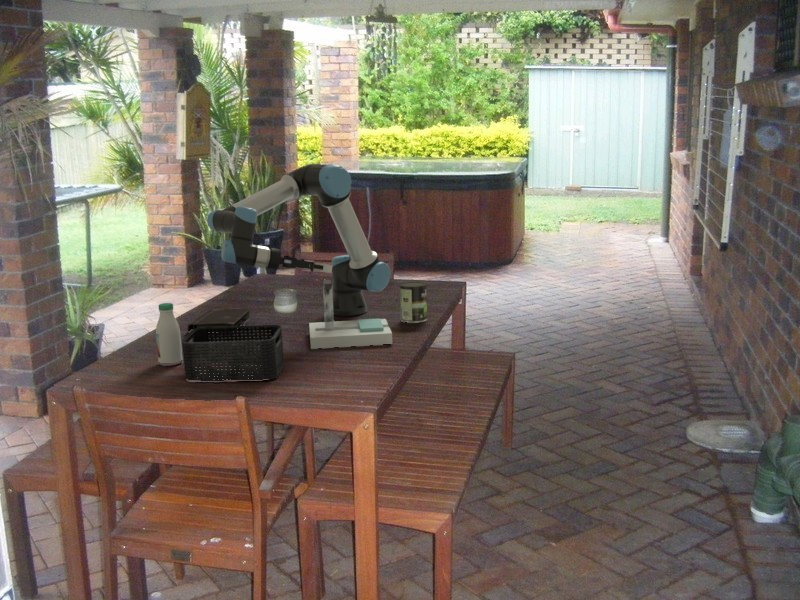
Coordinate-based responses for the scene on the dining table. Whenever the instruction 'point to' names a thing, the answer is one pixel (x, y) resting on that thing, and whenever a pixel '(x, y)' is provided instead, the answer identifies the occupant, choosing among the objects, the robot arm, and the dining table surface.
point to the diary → (221, 318)
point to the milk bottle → (168, 335)
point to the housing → (347, 335)
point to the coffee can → (413, 302)
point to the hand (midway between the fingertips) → (326, 268)
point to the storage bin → (233, 353)
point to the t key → (328, 305)
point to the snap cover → (370, 325)
